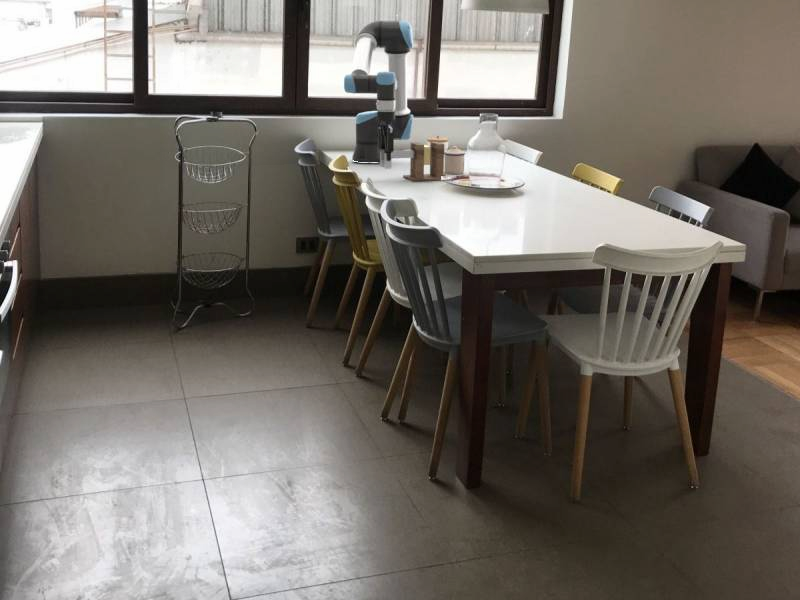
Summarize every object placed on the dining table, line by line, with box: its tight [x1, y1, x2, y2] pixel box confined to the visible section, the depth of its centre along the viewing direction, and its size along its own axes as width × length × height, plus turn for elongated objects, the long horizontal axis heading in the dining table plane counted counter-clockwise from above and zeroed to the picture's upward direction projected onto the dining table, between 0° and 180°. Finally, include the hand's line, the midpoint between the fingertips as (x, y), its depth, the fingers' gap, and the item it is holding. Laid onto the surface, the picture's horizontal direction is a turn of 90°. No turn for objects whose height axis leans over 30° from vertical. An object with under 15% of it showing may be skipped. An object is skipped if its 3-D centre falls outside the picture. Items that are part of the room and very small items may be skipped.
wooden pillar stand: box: [402, 141, 446, 183], centre depth 401 cm, size 12×17×15 cm
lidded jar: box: [426, 134, 450, 153], centre depth 473 cm, size 11×11×9 cm
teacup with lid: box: [444, 145, 466, 175], centre depth 419 cm, size 12×9×12 cm
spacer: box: [423, 144, 431, 166], centre depth 400 cm, size 7×3×8 cm, turn 20°
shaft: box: [381, 148, 416, 161], centre depth 397 cm, size 4×20×4 cm, turn 110°
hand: (385, 167), depth 395 cm, fingers closed on shaft, 4 cm apart
